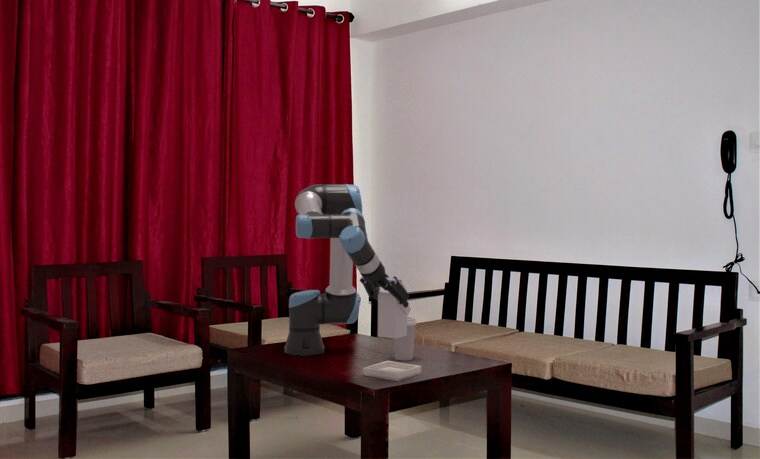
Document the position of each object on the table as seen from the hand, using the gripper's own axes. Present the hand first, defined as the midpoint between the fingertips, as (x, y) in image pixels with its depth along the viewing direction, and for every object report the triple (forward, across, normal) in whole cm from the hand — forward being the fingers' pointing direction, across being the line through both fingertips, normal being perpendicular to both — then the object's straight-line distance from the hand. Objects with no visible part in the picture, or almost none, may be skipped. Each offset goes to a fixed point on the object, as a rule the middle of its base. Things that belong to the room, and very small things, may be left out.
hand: (398, 311), depth 249 cm
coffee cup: (+29, -11, -1) cm, 31 cm away
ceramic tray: (+12, 0, -17) cm, 21 cm away
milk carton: (+3, 0, -8) cm, 9 cm away
